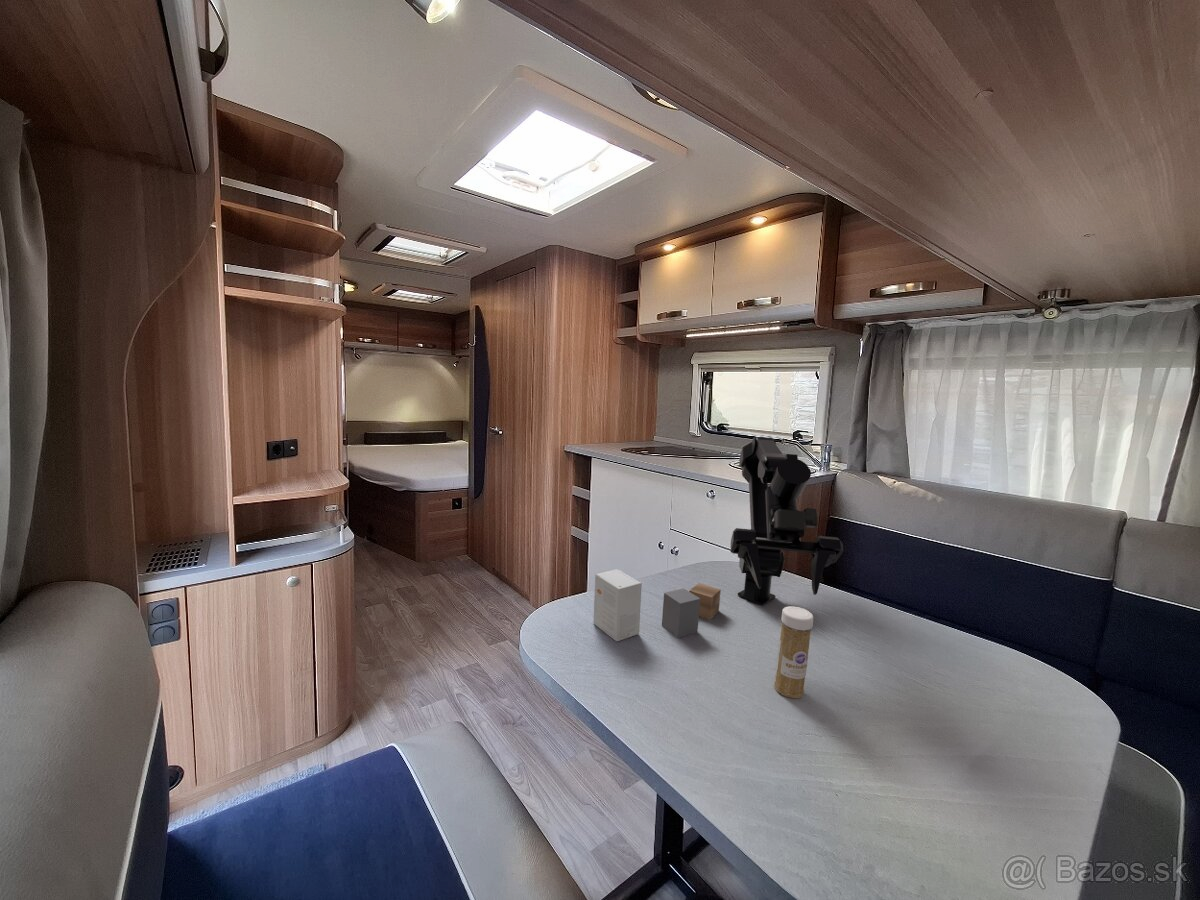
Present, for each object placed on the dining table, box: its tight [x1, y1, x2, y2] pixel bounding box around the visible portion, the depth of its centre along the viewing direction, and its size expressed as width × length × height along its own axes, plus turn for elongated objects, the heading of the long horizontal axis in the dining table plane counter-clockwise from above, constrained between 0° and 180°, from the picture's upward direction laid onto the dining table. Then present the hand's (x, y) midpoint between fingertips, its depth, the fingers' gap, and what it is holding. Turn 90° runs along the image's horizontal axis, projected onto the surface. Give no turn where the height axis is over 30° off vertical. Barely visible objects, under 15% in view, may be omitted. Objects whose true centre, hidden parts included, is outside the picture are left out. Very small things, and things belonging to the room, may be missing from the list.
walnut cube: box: [688, 582, 722, 621], centre depth 101 cm, size 5×5×5 cm
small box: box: [592, 569, 643, 643], centre depth 91 cm, size 8×6×10 cm
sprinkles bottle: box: [773, 606, 814, 699], centre depth 75 cm, size 5×5×14 cm
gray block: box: [661, 587, 700, 638], centre depth 93 cm, size 5×5×7 cm
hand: (787, 590), depth 82 cm, fingers open, 9 cm apart
